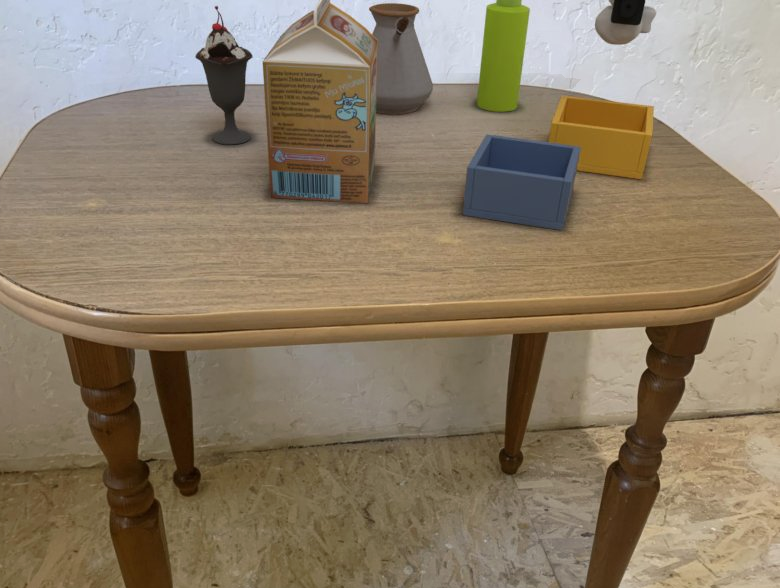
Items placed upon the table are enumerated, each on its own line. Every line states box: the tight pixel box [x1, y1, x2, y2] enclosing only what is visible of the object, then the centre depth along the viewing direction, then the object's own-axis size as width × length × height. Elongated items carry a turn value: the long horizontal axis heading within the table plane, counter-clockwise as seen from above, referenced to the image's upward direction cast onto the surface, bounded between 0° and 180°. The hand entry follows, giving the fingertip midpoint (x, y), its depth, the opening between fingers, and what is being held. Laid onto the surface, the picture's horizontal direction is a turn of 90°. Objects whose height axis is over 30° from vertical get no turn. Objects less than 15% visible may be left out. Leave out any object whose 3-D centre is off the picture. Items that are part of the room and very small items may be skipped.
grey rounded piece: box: [594, 0, 657, 46], centre depth 85 cm, size 5×7×8 cm
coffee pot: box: [368, 2, 434, 115], centre depth 102 cm, size 21×12×15 cm, turn 4°
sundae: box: [195, 5, 253, 146], centre depth 93 cm, size 7×7×15 cm
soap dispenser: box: [476, 0, 531, 113], centre depth 107 cm, size 6×7×20 cm
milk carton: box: [262, 0, 378, 204], centre depth 82 cm, size 11×11×19 cm
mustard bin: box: [547, 94, 655, 180], centre depth 96 cm, size 12×12×5 cm
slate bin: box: [462, 134, 581, 231], centre depth 83 cm, size 11×11×5 cm
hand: (626, 16), depth 86 cm, fingers closed on grey rounded piece, 5 cm apart
